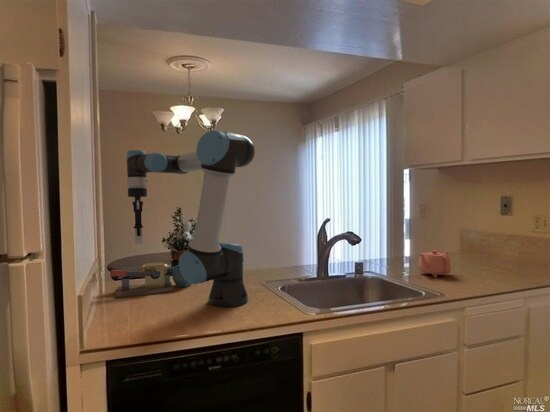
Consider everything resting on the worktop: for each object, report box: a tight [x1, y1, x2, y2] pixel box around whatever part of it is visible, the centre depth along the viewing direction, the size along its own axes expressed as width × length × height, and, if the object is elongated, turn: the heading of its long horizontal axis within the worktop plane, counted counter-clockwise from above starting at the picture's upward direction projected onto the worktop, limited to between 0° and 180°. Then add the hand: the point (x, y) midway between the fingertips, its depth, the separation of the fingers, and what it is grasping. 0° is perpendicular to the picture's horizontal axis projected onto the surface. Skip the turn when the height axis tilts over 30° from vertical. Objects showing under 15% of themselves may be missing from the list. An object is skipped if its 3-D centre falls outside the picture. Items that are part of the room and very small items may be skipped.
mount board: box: [115, 281, 175, 299], centre depth 159 cm, size 16×23×1 cm
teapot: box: [418, 249, 452, 277], centre depth 185 cm, size 15×17×13 cm
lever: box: [110, 269, 160, 279], centre depth 153 cm, size 2×20×4 cm, turn 111°
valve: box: [117, 261, 172, 291], centre depth 160 cm, size 9×22×10 cm, turn 111°
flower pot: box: [171, 264, 192, 288], centre depth 167 cm, size 9×9×9 cm
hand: (138, 243), depth 153 cm, fingers closed
